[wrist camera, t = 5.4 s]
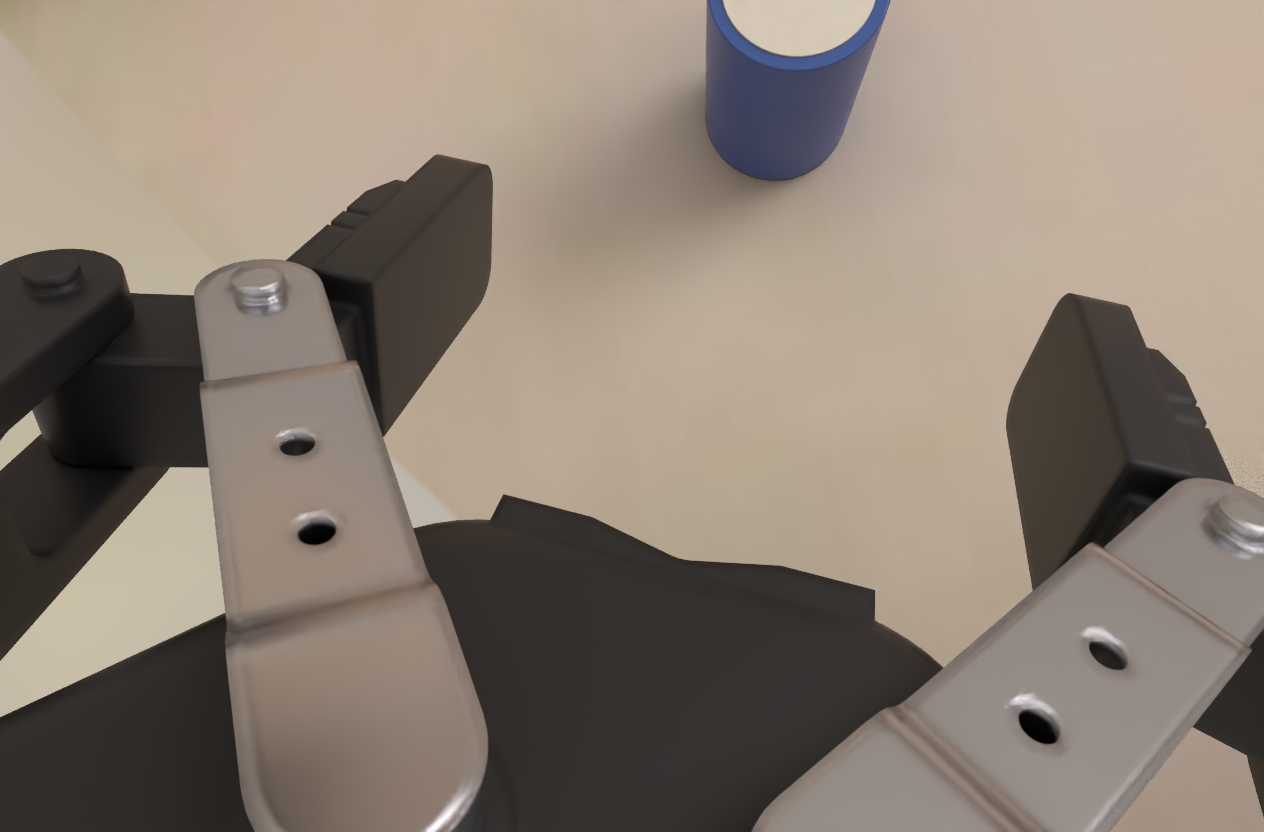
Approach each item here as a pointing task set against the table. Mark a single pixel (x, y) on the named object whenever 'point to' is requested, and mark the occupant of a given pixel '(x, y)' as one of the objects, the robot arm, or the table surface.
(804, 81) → the blue cylinder with handle
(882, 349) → the table surface
